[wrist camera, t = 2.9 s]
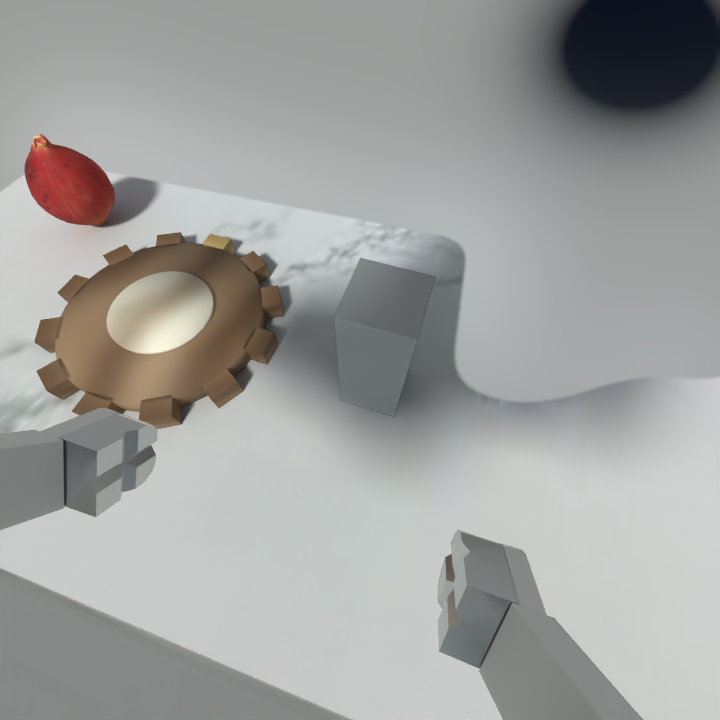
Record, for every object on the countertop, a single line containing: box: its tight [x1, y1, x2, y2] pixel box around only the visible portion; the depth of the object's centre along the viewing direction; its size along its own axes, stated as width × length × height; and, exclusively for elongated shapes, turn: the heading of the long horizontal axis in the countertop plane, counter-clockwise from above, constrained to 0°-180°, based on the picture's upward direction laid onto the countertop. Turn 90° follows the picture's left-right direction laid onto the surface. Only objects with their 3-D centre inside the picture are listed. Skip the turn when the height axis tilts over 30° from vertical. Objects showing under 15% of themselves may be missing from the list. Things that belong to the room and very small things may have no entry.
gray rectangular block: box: [334, 258, 435, 417], centre depth 21 cm, size 4×4×10 cm
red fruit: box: [25, 134, 115, 225], centre depth 30 cm, size 6×6×8 cm
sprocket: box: [35, 232, 283, 429], centre depth 27 cm, size 18×18×2 cm
